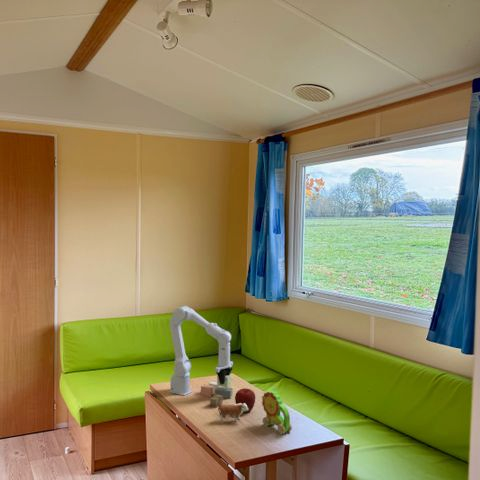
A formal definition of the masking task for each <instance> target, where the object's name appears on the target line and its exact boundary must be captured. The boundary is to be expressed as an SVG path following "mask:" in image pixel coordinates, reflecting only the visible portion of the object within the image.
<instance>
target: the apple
mask: <svg viewBox="0 0 480 480" xmlns="http://www.w3.org/2000/svg"><path fill="white" fill-rule="evenodd" d="M234 398H235V399H234V400H235V401H234V402H235V404H239V403H241V404H243V403H246V405H247V407H248V409H249V410H248V411H243V413H247V412H248V413H249V412H250V411H252V410H253V409H254V407H255V403H256V393H255V392H254V391H253V390H252V389H250V388H247V387H246V388H245V387H244V388H240V389H238V390H237V392H236V393H235V397H234Z"/></svg>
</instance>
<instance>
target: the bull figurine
mask: <svg viewBox="0 0 480 480" xmlns="http://www.w3.org/2000/svg"><path fill="white" fill-rule="evenodd" d="M217 410H218V413H219V416H220V417H219V418H220V419H221V420H222V421H223V420H224V422H226V423H229V421H228V419H227V417H226V415H227V416H228V417H231V416H235V420H234V422H236V423H238V422H239V421H241V417H240V416H241V415H242V414H243V413H244V412H243V411H248V410H249V409H248V407H247V405H246V403H243V404H241V403H239V404H236V403H235V404H222V405H220V406H218V407H217Z"/></svg>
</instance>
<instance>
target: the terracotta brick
mask: <svg viewBox="0 0 480 480" xmlns="http://www.w3.org/2000/svg"><path fill="white" fill-rule="evenodd" d="M200 394H201V395H205V396H209V397H211V396H213V395H215V392H214V386H210V385H209V384H202V385H201V386H200Z"/></svg>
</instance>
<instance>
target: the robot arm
mask: <svg viewBox="0 0 480 480" xmlns="http://www.w3.org/2000/svg"><path fill="white" fill-rule="evenodd" d="M171 314H172V315H171V318H170V322H169V328H170V329H169V330H170V334H171V339H172V345H173V350H174V356H175V359H174V369H173V374H172V375H171V377H170V390H169V393H171V394H176V395H179V396H187V395H188V394H190V393H192V392H194V390H193V389H190V385H191V383H190V382H191V381H190V379H191V377H190V376H191V373H190V371H191V369H192V363H191V362H190V361H189V357H188V356H187V354H186V349H185V348H186V347H185V343H184V337H183V333H182V332H183V331H182V327H181V325H182V323H183V322H184V321H193V322H195V323H196V324H198V325H199V326H200V327H203V328H205V332H206V333H207V334H208V335H210V336H212V337H213V338H214V339H215V340H217V342H218V363H217V366H216V367H214V372H215V373H216V376H218V378H219V382H220V384H224V382H225V375H229V376H231V372H232V370H233V366H234V361H231V342H230V341H232V334H231V333H230V331H228V330H225V329H224V328H221V327H220V326H218V323H216V322H209V321H207V320H206V319H205V318H204V317H203V316H201V315H200V314H199V313H197V312H196V311H195V310H194V309H193V308H191V307H189V306H188V305H181V306H180V307H178V308H176V309H175V310H174V311H173V312H172V313H171Z"/></svg>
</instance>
